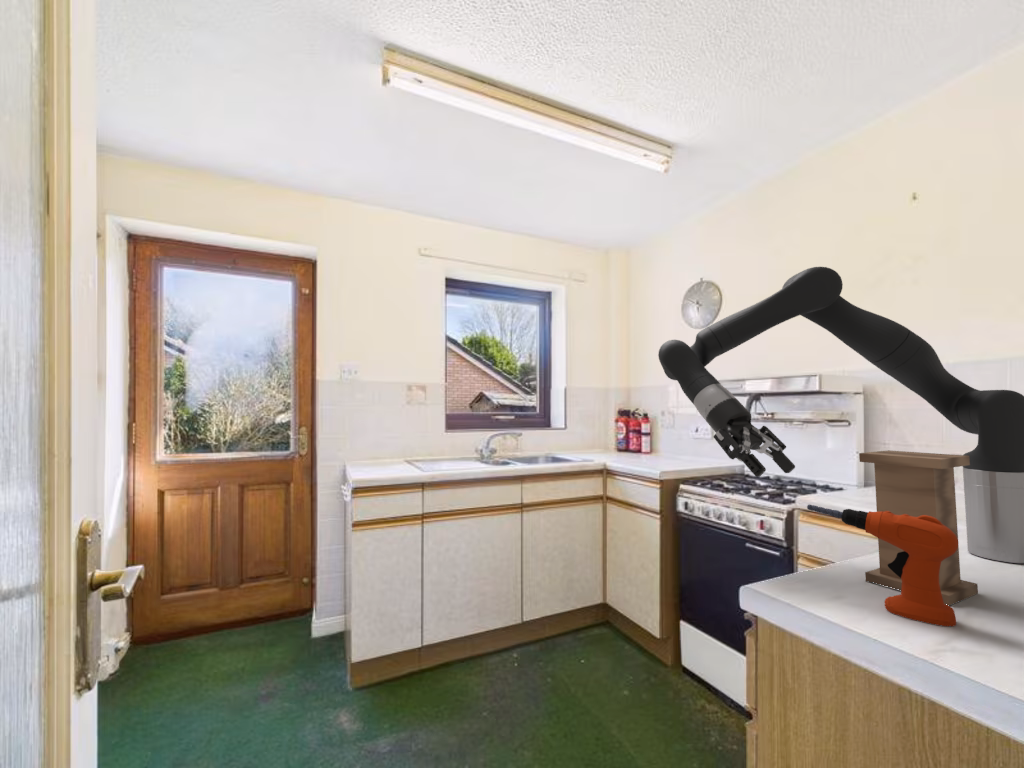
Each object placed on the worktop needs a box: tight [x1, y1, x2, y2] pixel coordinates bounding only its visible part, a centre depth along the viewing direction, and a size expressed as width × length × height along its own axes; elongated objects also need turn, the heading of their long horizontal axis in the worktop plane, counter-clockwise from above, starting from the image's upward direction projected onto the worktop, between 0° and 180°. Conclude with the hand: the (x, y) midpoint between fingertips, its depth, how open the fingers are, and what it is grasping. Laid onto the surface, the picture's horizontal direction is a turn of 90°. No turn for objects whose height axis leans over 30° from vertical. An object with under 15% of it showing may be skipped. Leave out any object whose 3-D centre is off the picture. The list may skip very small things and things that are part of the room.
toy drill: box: [806, 504, 959, 627], centre depth 69 cm, size 5×19×15 cm, turn 42°
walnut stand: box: [858, 450, 979, 606], centre depth 75 cm, size 10×11×22 cm
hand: (776, 472), depth 83 cm, fingers open, 8 cm apart
